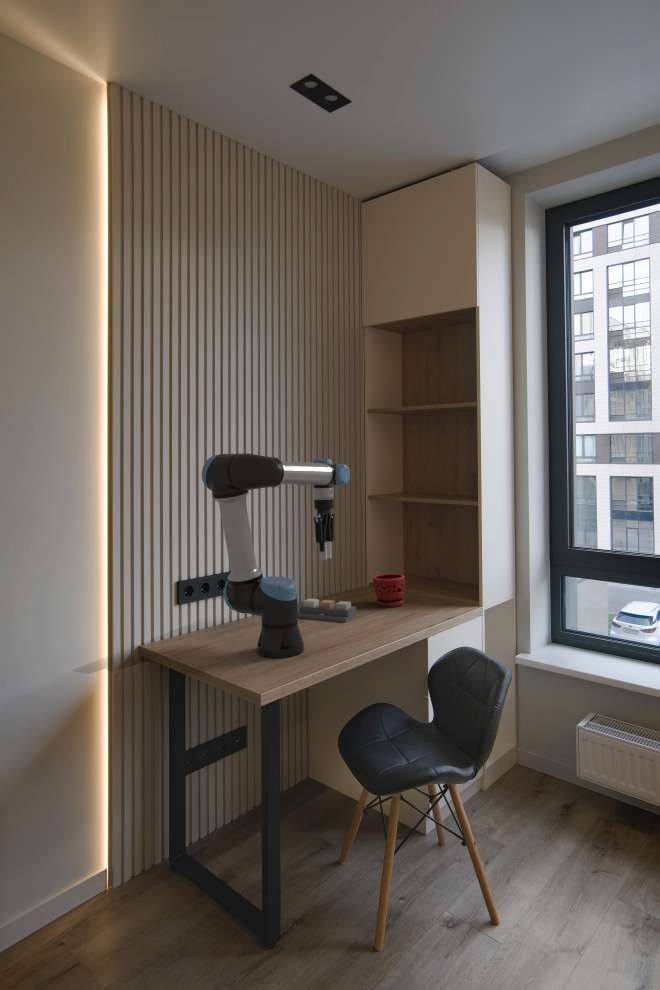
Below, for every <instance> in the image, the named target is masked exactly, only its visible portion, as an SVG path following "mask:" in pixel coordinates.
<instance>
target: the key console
mask: <svg viewBox="0 0 660 990" xmlns="http://www.w3.org/2000/svg"><path fill="white" fill-rule="evenodd" d="M298 610H299V611H298V619H306V618H309V620H316V619H319V621H326V620H329V621H328V622H336V621H338V622H337V623H345V622H346V623H347V622H349V621H350V619H351V620H352V619H354V618H355V616H356V617H357V607H356V606H355V605H353V606H352V605H351V608H350V609H348V610H340V609H336V604H335V606H334V607H332V608H331V609H329V608H320V602H319V605H318V606H316V607H308V606H304V603H303V604H302V605H301V604H300V606H298ZM353 617H354V618H353Z"/></svg>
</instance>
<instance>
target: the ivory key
mask: <svg viewBox="0 0 660 990" xmlns="http://www.w3.org/2000/svg"><path fill="white" fill-rule="evenodd" d="M319 603H320V600H319V598H318V599H317V598H307V599H305V600H303V604H304V606H308V607H316V606H318V605H319Z"/></svg>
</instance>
